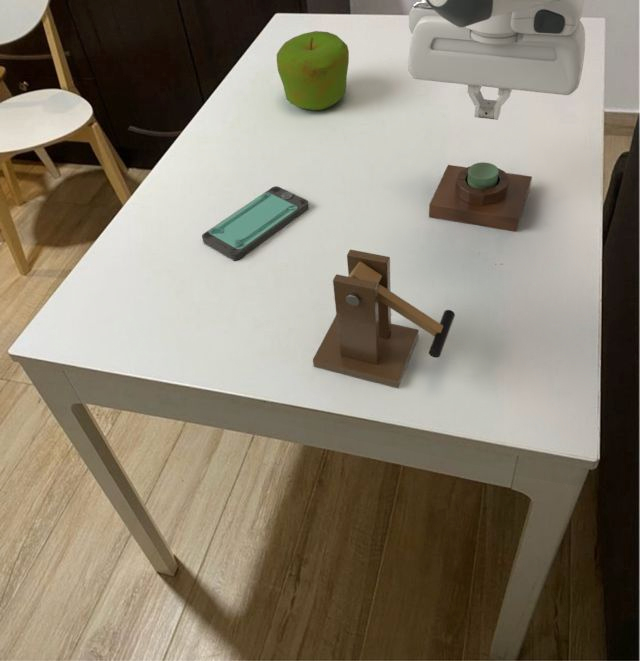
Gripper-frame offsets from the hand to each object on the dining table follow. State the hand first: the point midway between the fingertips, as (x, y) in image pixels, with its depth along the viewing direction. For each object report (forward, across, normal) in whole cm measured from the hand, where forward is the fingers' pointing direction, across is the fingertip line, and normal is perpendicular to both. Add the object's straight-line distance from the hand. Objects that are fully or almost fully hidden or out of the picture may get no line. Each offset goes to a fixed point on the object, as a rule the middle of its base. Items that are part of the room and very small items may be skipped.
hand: (487, 116), depth 83 cm
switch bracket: (+13, -6, -31) cm, 34 cm away
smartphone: (+14, -29, -13) cm, 34 cm away
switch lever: (+6, -2, -31) cm, 32 cm away
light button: (+10, 0, 0) cm, 10 cm away
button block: (+13, 0, 0) cm, 13 cm away
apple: (+14, -34, +22) cm, 43 cm away
